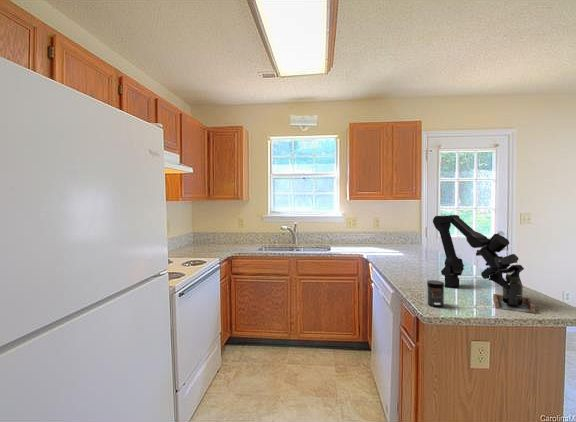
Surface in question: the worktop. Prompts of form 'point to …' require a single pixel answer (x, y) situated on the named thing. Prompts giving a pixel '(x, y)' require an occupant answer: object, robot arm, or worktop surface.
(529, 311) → the bay
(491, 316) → the worktop surface
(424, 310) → the worktop surface
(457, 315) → the worktop surface
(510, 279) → the supplement bottle
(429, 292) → the supplement container
